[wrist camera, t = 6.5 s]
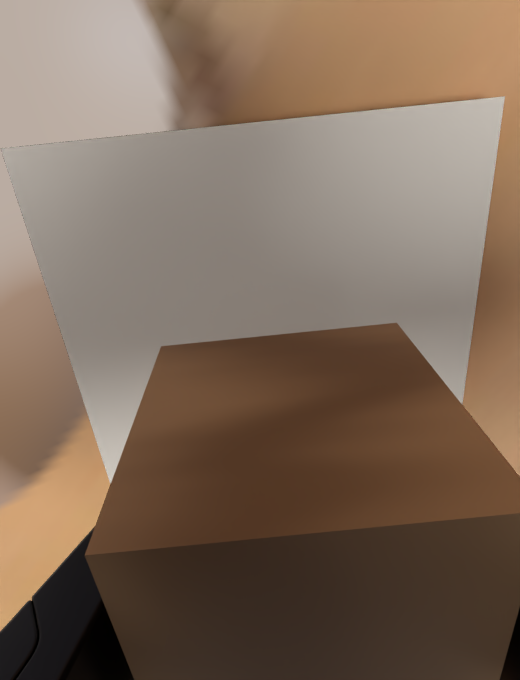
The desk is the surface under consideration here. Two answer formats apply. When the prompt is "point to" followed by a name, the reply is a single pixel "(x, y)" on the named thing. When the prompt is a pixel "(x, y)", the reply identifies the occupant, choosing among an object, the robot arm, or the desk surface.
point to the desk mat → (259, 238)
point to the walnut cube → (308, 517)
